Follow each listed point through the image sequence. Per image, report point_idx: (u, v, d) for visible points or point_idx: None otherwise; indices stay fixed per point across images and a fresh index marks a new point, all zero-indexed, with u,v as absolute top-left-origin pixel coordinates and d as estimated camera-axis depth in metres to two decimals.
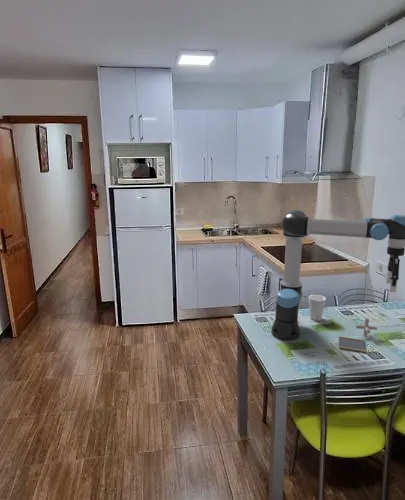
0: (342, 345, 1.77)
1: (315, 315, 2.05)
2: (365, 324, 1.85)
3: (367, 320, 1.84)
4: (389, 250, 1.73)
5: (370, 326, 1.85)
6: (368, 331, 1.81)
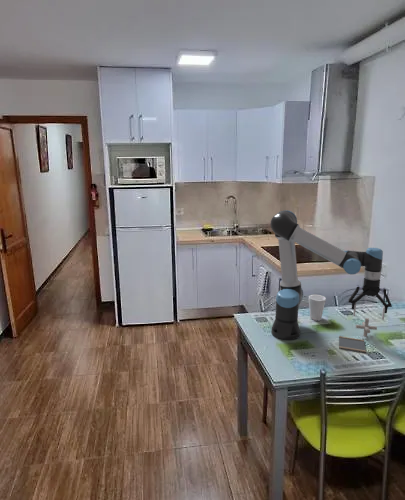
0: (342, 345, 1.77)
1: (315, 315, 2.05)
2: (365, 324, 1.85)
3: (367, 320, 1.84)
4: None
5: (370, 326, 1.85)
6: (368, 331, 1.81)
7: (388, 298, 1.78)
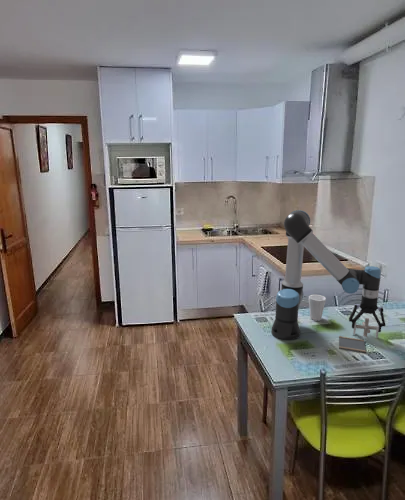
0: (342, 345, 1.77)
1: (315, 315, 2.05)
2: (365, 324, 1.85)
3: (367, 320, 1.84)
4: None
5: (370, 326, 1.85)
6: (368, 331, 1.81)
7: (383, 317, 1.81)
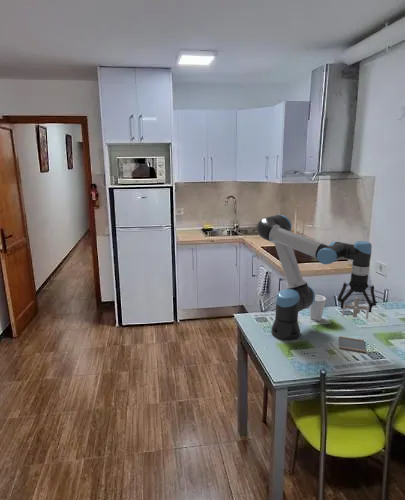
0: (342, 345, 1.77)
1: (315, 315, 2.05)
2: (355, 304, 1.73)
3: (357, 299, 1.72)
4: None
5: (360, 306, 1.73)
6: (358, 311, 1.69)
7: (374, 296, 1.68)
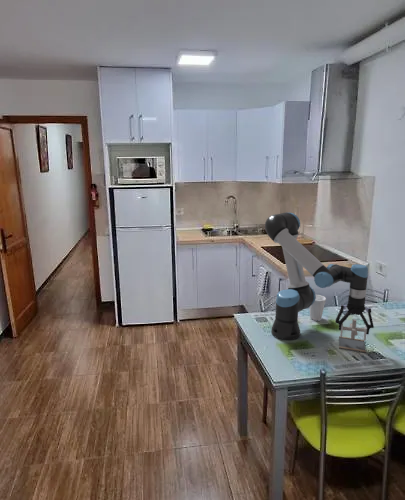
0: (342, 345, 1.77)
1: (315, 315, 2.05)
2: (352, 326, 1.75)
3: (354, 321, 1.74)
4: None
5: (358, 328, 1.75)
6: (355, 333, 1.71)
7: (371, 319, 1.71)
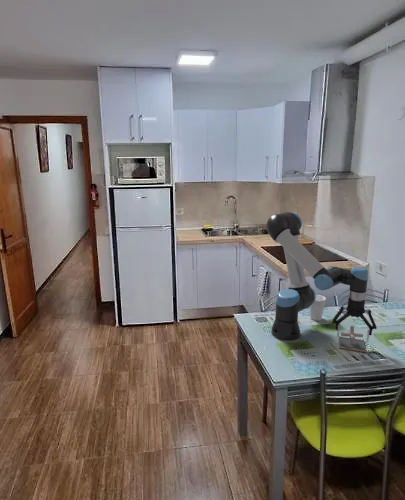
0: (342, 345, 1.77)
1: (315, 315, 2.05)
2: (350, 331, 1.76)
3: (352, 327, 1.75)
4: None
5: (356, 333, 1.76)
6: (353, 339, 1.72)
7: (373, 320, 1.70)
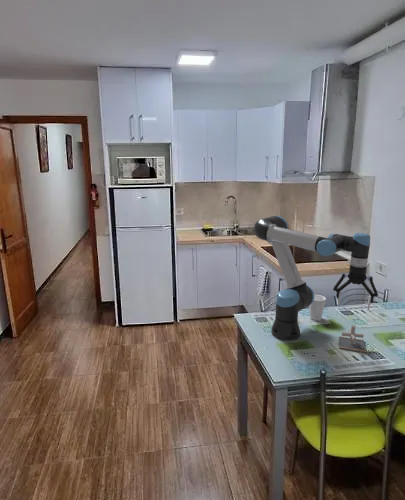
0: (342, 345, 1.77)
1: (315, 315, 2.05)
2: (351, 332, 1.76)
3: (353, 327, 1.75)
4: None
5: (356, 334, 1.76)
6: (354, 339, 1.72)
7: (374, 287, 1.68)
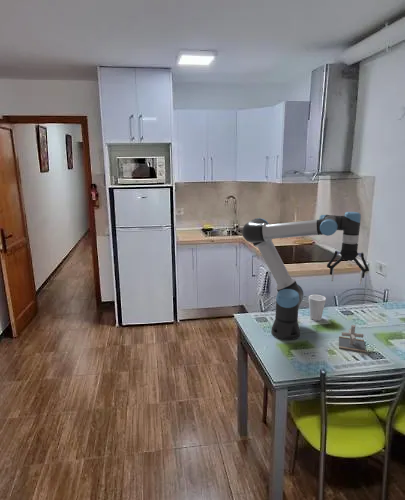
0: (342, 345, 1.77)
1: (315, 315, 2.05)
2: (351, 331, 1.76)
3: (353, 327, 1.75)
4: None
5: (356, 334, 1.76)
6: (354, 339, 1.72)
7: (365, 262, 1.78)
